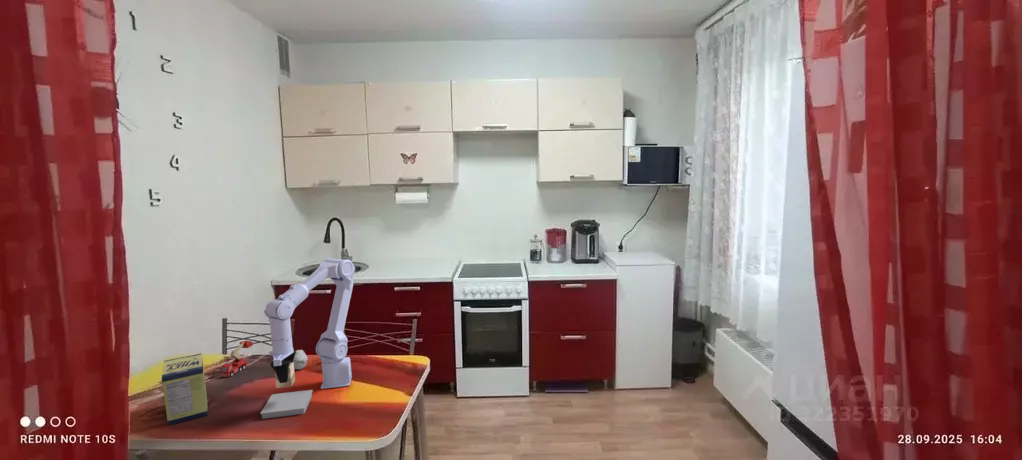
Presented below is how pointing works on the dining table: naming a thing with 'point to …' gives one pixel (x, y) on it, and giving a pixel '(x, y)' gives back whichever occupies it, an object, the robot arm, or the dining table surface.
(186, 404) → the protein box
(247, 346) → the toy fire truck
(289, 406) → the thin white square tile
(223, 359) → the dining table surface
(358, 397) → the dining table surface
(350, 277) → the robot arm
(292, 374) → the birch block
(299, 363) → the white rounded lump
